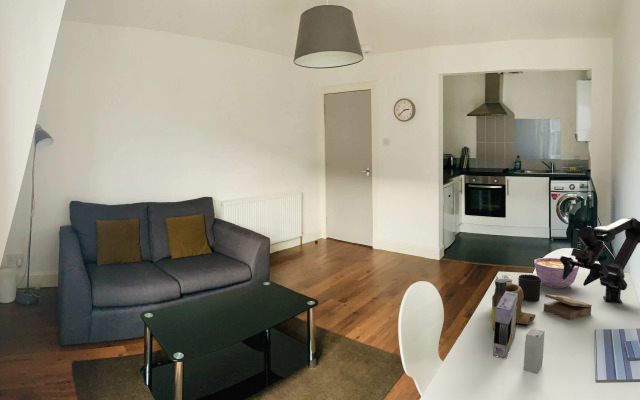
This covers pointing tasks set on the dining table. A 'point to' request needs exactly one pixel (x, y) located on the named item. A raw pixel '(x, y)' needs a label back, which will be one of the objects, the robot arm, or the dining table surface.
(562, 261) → the robot arm
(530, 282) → the pen holder
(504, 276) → the syrup box
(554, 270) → the bowl of food
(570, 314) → the wooden case
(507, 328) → the cake pan box
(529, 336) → the skincare box
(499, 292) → the sauce bottle
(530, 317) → the tan boot
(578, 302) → the case lid
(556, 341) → the dining table surface
